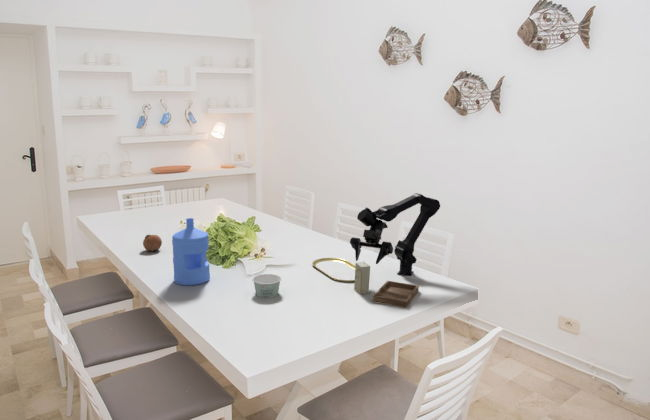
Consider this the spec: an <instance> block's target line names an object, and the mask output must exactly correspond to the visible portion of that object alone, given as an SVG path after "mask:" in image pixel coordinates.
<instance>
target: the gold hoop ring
mask: <svg viewBox="0 0 650 420" xmlns="http://www.w3.org/2000/svg"><path fill="white" fill-rule="evenodd" d="M321 262H339V263H343V264H346V266H349V267H350V268H352V269H354V270H355V266H356V264H354V263H352V262H351V261H348V260H347V259H342V258H338V257H322V258H318V259H315V260H313V261H312V264H311V265H312V266H313V267H314V268H316V269H317V270H318V271H320V272H321V273H322V274H324V275H326V276H327V277H328V278H330V279H332V280H334V281H337V282H341V283H342V282H343V283H355V279H339V278H336V277H332V276H331V275H329V274H328V273H326V272H325V271H323V270H322V269H320V268H319V267H317V266H316V265H317V264H319V263H321Z"/></svg>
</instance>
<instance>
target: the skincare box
mask: <svg viewBox="0 0 650 420" xmlns="http://www.w3.org/2000/svg"><path fill="white" fill-rule="evenodd" d="M370 277H371V265H369V264H368V263H367V262H365V261H362V262H361V261H359V262H358V261H356V262H355V269H354V280H355V282H354V283H353V284H354V285H353V286H354V290H355V291H356V292H357V293H358V294H359V295H362V294H369V293H370V292H369V289H370Z"/></svg>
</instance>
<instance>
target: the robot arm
mask: <svg viewBox="0 0 650 420" xmlns="http://www.w3.org/2000/svg"><path fill="white" fill-rule="evenodd" d="M418 204H419V205H420V207H419V208H420V209H419V211H420V212H419V215H418V216H417V218H416V220H414V223H413V225H412V227H411V228H410V230H409V231H408V233H407V235H406V236H405V237H404V239H403V240H398V241H397V244H396V245H395V246H394V247H393V245H392V242H390V241H382V242H381V243H380V241H381V240H382V234H383V232H384V231H383V230H384V229H387V228H389V227H388V224H387V223H386V222H388V223H389V222H392V221H393V220H394V219H396V218H397V216H398V215H399V214H400V213H403V212H404V211H407V210H408V209H410V208H412V207H414V206H416V205H418ZM440 208H441V203H440V201H439V199H436V198H431V197H427V196H424V195H423V194H421V193H417V192H416V193H413V194H412V195H409V196H408V197H406V198H404V199H402V200H400V201H398V202H395V203H393V204H388V205H383V206H380V207H379V208H378V209H376V210H374V211H372V210H371V209H370V208H369V207H365V208H364V209H362V210H361V211H359V212H358V214H357V216H356V217H357V220H358V221H359V222H361V224H363V225H365V226H366V227H369V229H364V230H363V233H362V234H363V236H362V237H363V238H364V239H363V240H364V241H361V238H360V237H351V238H350V240H349V243H350V245H351V248H352V249H354V251H355V261H356V262H358V260H359V257H360V254H361V252H362V250H361V249H362V247H366V248H375V249H379V252H378V256H377V257H376V260H375V261H376V262H375V264H376V265H378V264H379V263H380V262H381V260H383V259H384V258H385V257H386V256H389V254H390V255H391V254H393V252H394V255H395V257H396V260H399V271H397V272H396V273H397V275H400V276H406V277H411V276H412V275H413V274H414V270H413V264H416V263H417V257H416V256H414V252H415V243H417V241H418V239H419V237H420V235H421V234H422V232H423V230H424V228H425V227H426V225H427V223H428V221H429V219H431V217H433V216H435V215H436V213H438V212H439V210H440Z"/></svg>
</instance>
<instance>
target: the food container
mask: <svg viewBox="0 0 650 420" xmlns="http://www.w3.org/2000/svg"><path fill="white" fill-rule="evenodd" d="M281 281H282V277H281V276H279V275H277V274H273V273H263V274H258V275H257V274H256V275H255V276H252V282H253V285H254V290H255V295H256V296H258V297H260V298H272V297H275V296H276V297H277V296H278V294H279V289H280V283H281Z"/></svg>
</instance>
